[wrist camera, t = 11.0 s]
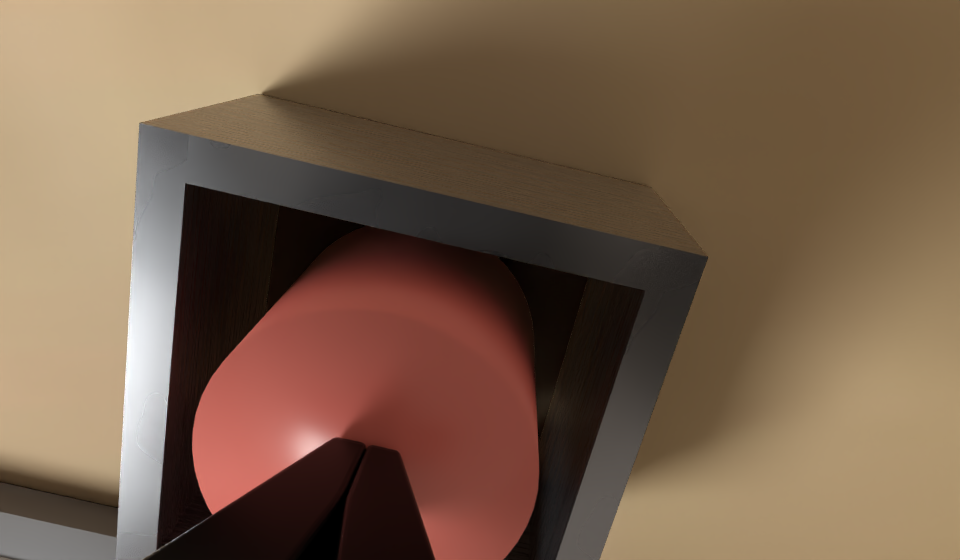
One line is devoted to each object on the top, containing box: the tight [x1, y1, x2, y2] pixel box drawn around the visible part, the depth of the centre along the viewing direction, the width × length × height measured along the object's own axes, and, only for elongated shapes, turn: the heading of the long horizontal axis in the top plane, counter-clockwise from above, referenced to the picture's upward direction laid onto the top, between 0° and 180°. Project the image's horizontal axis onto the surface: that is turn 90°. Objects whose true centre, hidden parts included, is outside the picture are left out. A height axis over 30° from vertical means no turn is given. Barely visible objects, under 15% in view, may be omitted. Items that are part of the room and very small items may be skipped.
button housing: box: [116, 94, 708, 560], centre depth 11 cm, size 7×7×4 cm
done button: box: [192, 226, 539, 560], centre depth 11 cm, size 4×4×4 cm
